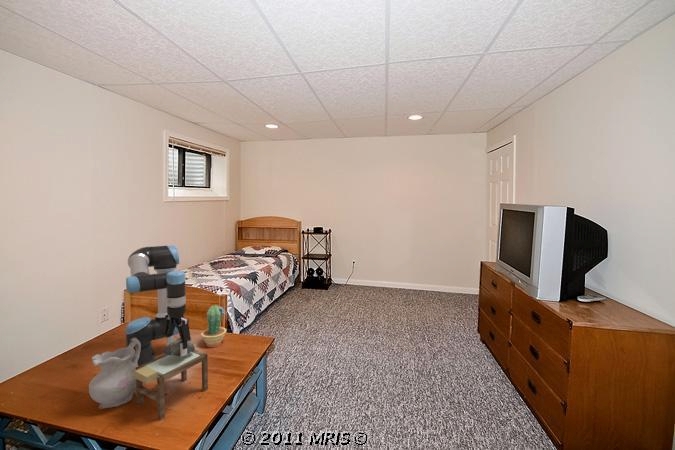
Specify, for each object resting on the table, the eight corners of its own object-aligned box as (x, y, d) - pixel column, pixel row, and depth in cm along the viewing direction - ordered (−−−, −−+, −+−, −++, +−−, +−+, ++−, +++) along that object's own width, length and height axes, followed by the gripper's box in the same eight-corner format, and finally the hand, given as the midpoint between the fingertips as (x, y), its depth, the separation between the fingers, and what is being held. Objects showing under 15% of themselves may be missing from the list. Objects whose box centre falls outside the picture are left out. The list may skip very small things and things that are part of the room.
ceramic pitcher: (116, 386, 140) (110, 337, 138) (157, 381, 141) (151, 333, 140) (79, 418, 118) (72, 361, 117) (128, 413, 120) (121, 356, 118)
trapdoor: (131, 376, 121) (131, 369, 120) (182, 352, 141) (182, 346, 141) (150, 385, 115) (150, 378, 114) (200, 359, 135) (200, 353, 135)
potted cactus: (220, 350, 174) (220, 310, 173) (196, 349, 175) (195, 309, 173) (230, 338, 190) (230, 302, 188) (207, 338, 190) (207, 301, 189)
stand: (136, 405, 125) (135, 367, 124) (184, 378, 145) (184, 345, 144) (160, 420, 117) (159, 379, 116) (207, 389, 137) (207, 354, 136)
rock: (168, 361, 124) (168, 347, 124) (158, 356, 129) (158, 342, 128) (197, 349, 135) (197, 336, 135) (187, 344, 140) (186, 331, 140)
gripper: (154, 303, 132) (155, 350, 133) (183, 312, 122) (184, 362, 123) (170, 299, 138) (170, 343, 140) (199, 306, 129) (199, 354, 130)
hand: (177, 352), depth 131 cm, fingers closed on rock, 9 cm apart
